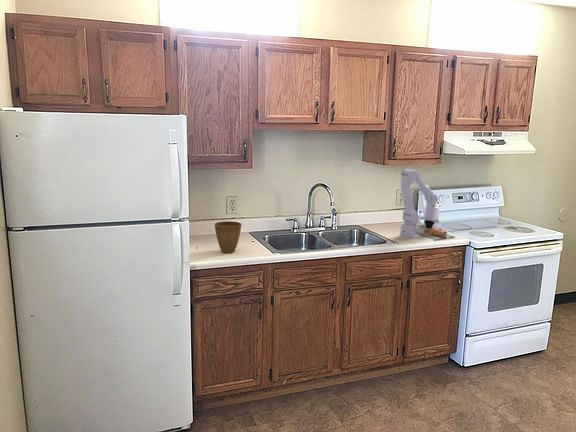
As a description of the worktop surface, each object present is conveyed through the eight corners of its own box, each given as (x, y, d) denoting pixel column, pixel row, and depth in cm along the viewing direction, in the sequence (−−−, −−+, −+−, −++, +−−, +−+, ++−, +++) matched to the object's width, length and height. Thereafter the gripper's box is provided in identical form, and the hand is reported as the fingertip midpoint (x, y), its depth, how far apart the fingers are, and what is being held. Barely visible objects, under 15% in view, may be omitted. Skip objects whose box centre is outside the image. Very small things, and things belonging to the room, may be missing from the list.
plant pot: (245, 253, 268) (246, 225, 265) (220, 256, 260) (220, 227, 257) (234, 246, 280) (234, 219, 277) (210, 249, 273) (210, 222, 270)
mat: (435, 240, 306) (435, 239, 305) (402, 231, 330) (402, 230, 330) (454, 237, 315) (454, 236, 314) (421, 228, 339) (421, 227, 339)
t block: (437, 238, 308) (438, 232, 307) (423, 234, 318) (424, 229, 317) (450, 236, 314) (451, 230, 313) (436, 233, 324) (436, 227, 323)
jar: (438, 228, 341) (440, 207, 338) (423, 227, 342) (425, 206, 339) (436, 225, 351) (438, 205, 348) (421, 224, 353) (423, 204, 350)
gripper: (443, 213, 315) (441, 233, 318) (426, 209, 327) (424, 228, 330) (435, 213, 311) (433, 234, 314) (418, 210, 324) (417, 229, 326)
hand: (428, 231), depth 322 cm, fingers closed
